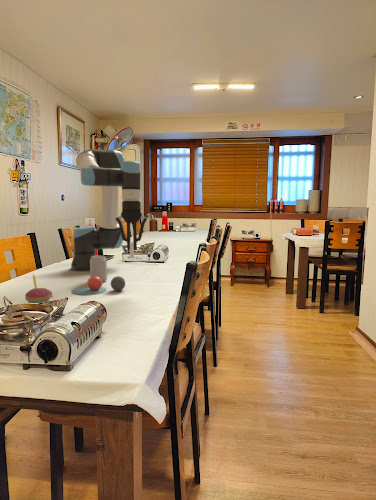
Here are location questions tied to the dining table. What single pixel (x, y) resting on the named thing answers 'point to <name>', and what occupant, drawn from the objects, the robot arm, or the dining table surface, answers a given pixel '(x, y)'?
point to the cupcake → (38, 294)
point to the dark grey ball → (118, 283)
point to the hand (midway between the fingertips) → (132, 257)
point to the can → (98, 267)
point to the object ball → (94, 283)
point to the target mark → (87, 291)
